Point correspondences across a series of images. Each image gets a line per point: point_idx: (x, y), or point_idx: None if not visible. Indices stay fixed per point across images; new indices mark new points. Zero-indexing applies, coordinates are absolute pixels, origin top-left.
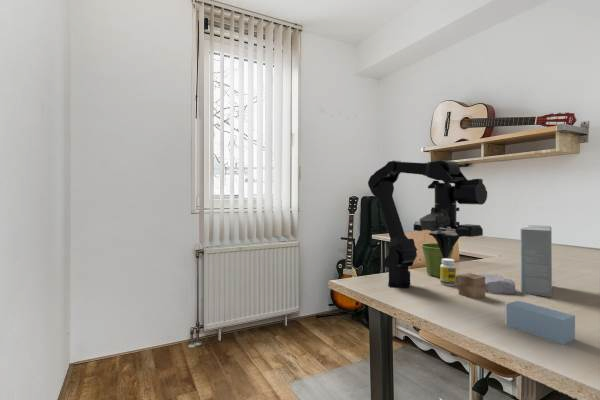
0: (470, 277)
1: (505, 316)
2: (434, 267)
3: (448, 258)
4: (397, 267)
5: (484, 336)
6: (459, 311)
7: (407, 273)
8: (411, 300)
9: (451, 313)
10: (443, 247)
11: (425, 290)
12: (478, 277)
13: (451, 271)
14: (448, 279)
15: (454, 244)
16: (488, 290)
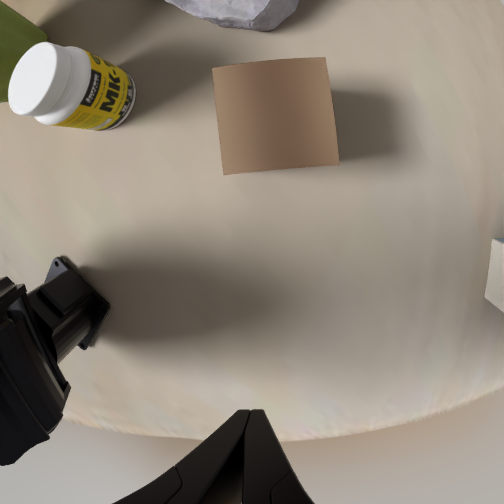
0: (303, 158)
1: (496, 306)
2: (5, 88)
3: (4, 23)
4: (61, 378)
5: (469, 384)
6: (377, 334)
7: (67, 321)
8: (229, 387)
9: (372, 365)
10: (238, 501)
11: (146, 265)
12: (324, 111)
13: (97, 92)
14: (113, 113)
15: (307, 494)
16: (274, 25)
